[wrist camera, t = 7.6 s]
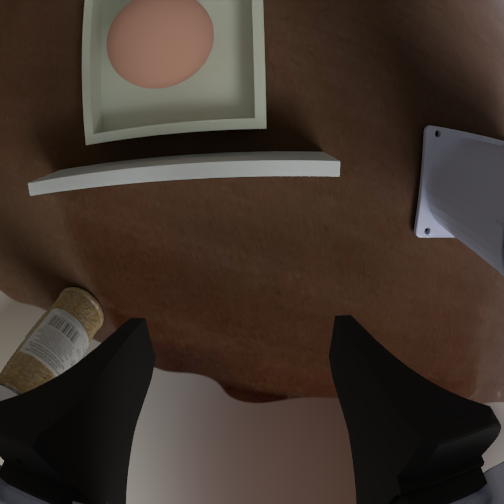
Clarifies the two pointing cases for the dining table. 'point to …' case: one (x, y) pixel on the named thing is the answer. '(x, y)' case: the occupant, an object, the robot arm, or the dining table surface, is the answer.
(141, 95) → the tray
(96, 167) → the acrylic wall
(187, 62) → the ball
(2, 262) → the dining table surface
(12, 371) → the spice bottle
